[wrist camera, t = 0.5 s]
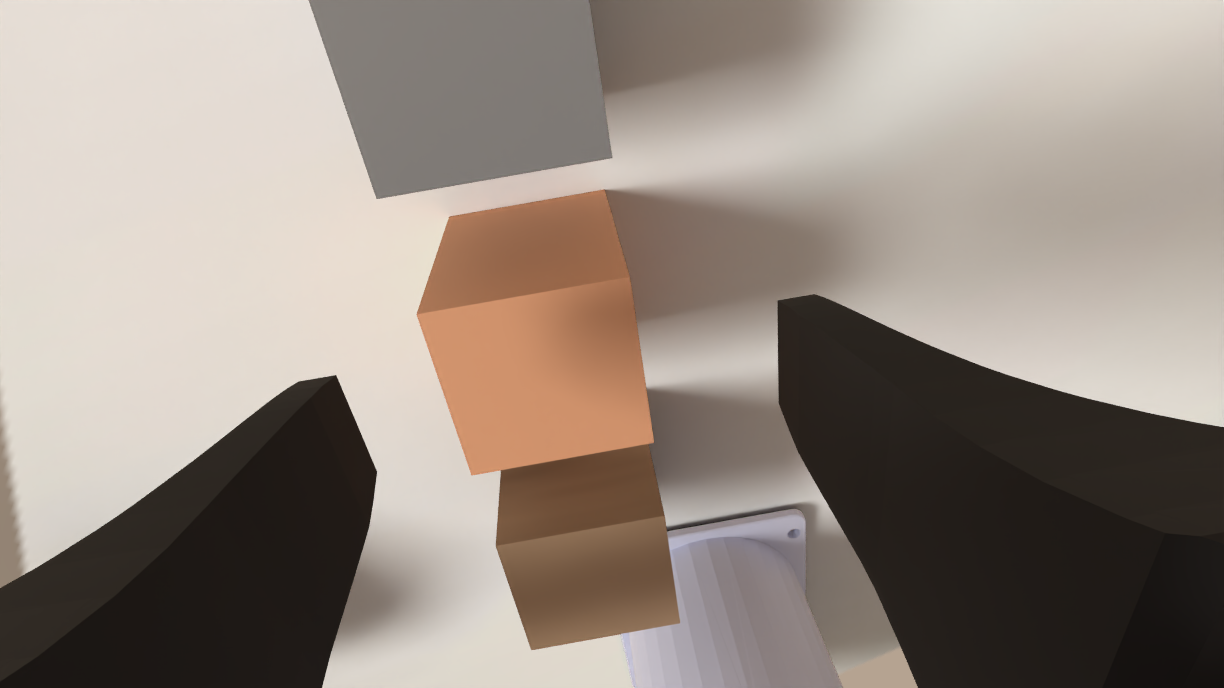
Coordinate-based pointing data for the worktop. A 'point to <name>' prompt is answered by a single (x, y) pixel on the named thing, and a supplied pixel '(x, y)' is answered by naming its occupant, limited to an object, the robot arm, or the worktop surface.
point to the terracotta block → (536, 334)
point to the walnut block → (586, 547)
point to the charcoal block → (465, 87)
